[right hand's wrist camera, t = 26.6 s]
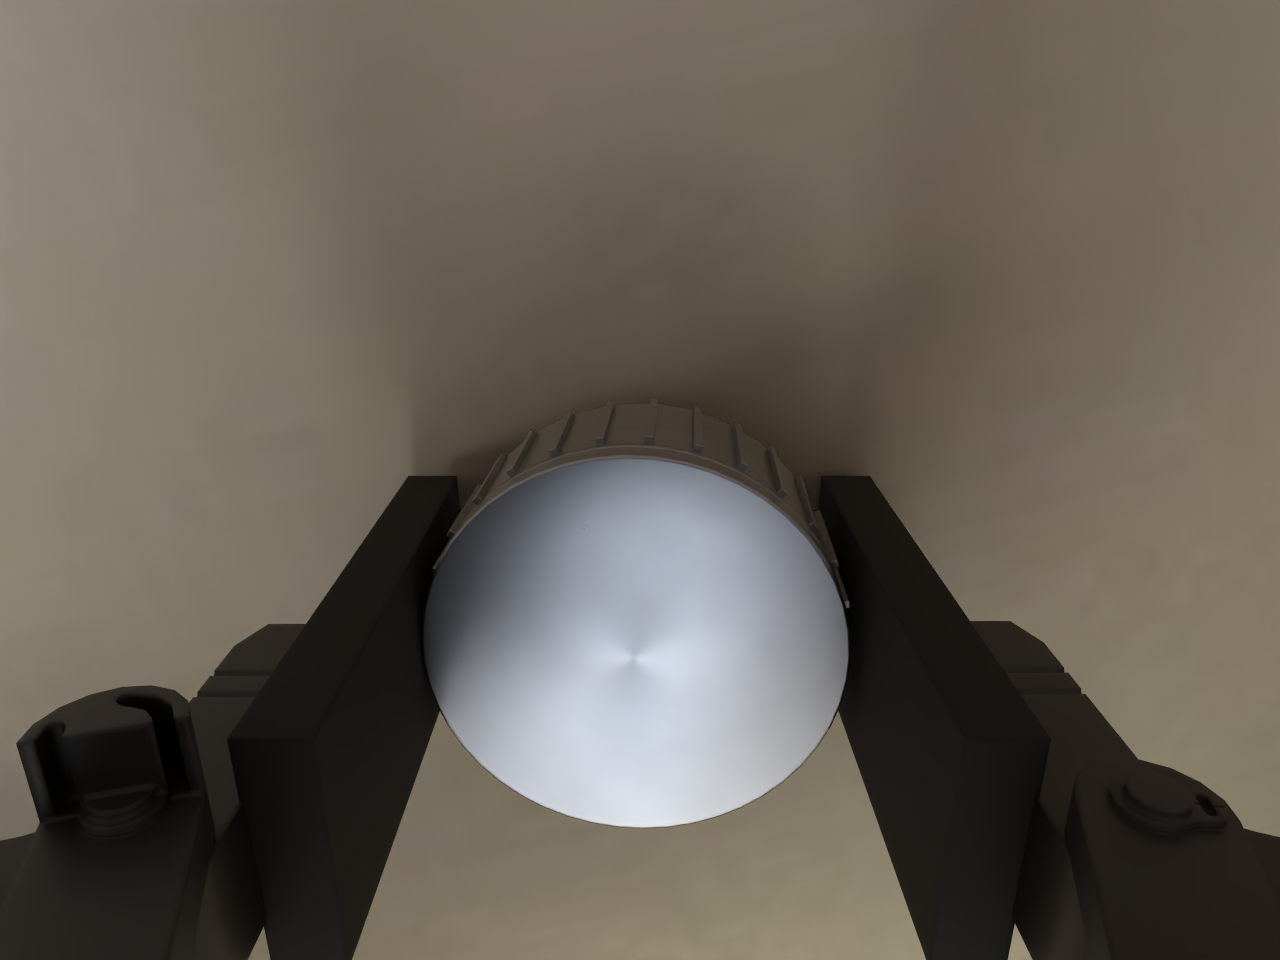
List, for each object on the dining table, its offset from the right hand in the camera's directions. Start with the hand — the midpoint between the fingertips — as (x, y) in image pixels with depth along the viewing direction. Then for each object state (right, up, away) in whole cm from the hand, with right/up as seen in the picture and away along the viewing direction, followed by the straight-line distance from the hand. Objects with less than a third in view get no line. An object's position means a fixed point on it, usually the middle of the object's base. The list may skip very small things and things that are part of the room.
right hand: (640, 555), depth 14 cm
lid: (0, -1, -3) cm, 3 cm away
